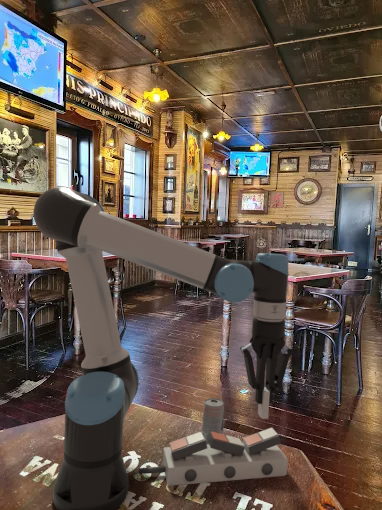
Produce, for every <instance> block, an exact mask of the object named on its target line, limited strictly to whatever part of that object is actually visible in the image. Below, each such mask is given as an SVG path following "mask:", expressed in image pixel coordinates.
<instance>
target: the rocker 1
mask: <svg viewBox="0 0 382 510" xmlns="http://www.w3.org/2000/svg"><path fill="white" fill-rule="evenodd" d="M168 445H169V447H170V449H171V452H172V456H173V460H177V459H180V458H183V457H185V456H188V455H191V454H193V453H196V452H199V451H202V450H204V449H207V444H206V440H205V438H204V436H203V434H202V430H201V431H198V432H195V433H192V434H189V435H187V436H184V437H181V438H178V439H176V440H173V441H171V442H168Z"/></svg>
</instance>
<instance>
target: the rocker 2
mask: <svg viewBox="0 0 382 510" xmlns="http://www.w3.org/2000/svg"><path fill="white" fill-rule="evenodd" d="M207 441H208V443H209V445H210V447H211V448H213V449H217V450H221V451H225V452H229V453H233V454H237V455H241V456H242V455H243V452H244V449H245V447H244V445H243V444H242V442H243V441H241V439H240V438H239V437H235V436H231V435H227V434H224V433H223V434H220V433H216V432H212V431H209V433H208V436H207Z"/></svg>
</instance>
